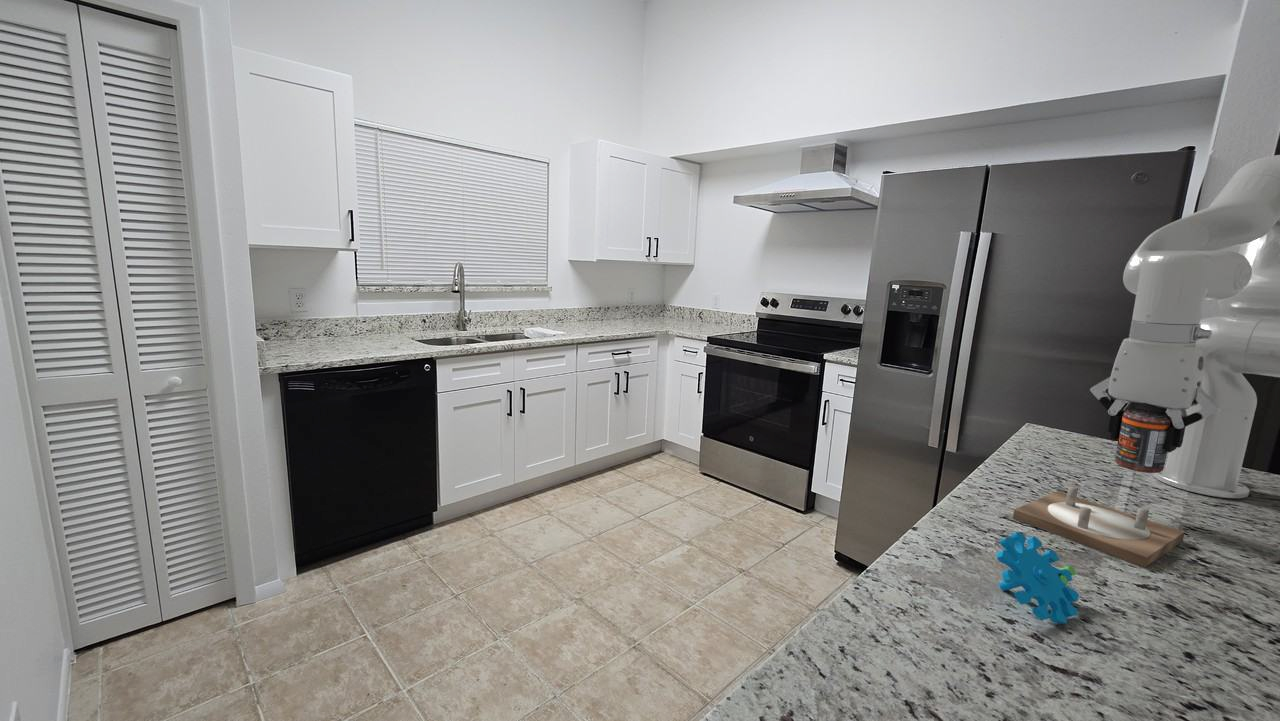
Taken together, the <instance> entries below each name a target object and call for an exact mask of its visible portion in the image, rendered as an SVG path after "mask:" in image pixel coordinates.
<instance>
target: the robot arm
mask: <svg viewBox="0 0 1280 721" xmlns="http://www.w3.org/2000/svg"><path fill="white" fill-rule="evenodd" d="M1234 247H1239V250H1238V252H1235V251H1233V250H1232V251H1230V250H1227V249H1229V248H1234ZM1122 281H1123V285H1124V287H1125V288H1126V290H1127V291H1128V292H1130V293H1131V294H1134V295H1135V300H1134V306H1133V312H1132V317H1131V318H1132V319H1131V323H1130V328H1129V334H1128V337H1127V338H1124V339H1123V340H1122V342H1121V345H1120V346H1119V350H1118V352H1117V355H1116V357H1115V360H1114V363H1113V367H1112V370H1111V374H1110V376H1108V377H1107V378H1106V379H1103V380H1101V381H1100V382H1098V383H1097V384H1095V385H1093V386H1092V387H1090V389H1089V391H1090V392H1091V393H1092V395H1093V396H1094V397H1095V398H1096V399H1097V400H1098V401H1099V403H1100V404H1101V405H1102V406H1103V407H1104V409H1105V410H1107V413H1108V415H1110V418H1109V422H1108V427H1107V428H1108V429H1107V431H1108V433H1109V434H1110V440H1114V441H1116V440H1117V441H1118V438H1119V433H1120V427H1121V421H1122V415H1123V413H1124V412H1125V411H1126V408H1127V407H1128V406H1129V405H1130V403H1132V404H1133V403H1148V404H1151V405H1154V406H1157V407H1161V408H1167V411H1168V414H1169V416H1170V417H1171V419H1172V422H1173V423H1172V425H1171V426H1170V427H1168V429H1167V435H1166V440H1165V445H1164V450H1165V452H1167V456H1166V461H1165V466H1164V469H1163V471H1161V472H1158V473H1152V477H1154V478H1155V479H1156V480H1158V481H1159V482H1161V483H1164V484H1166V485H1168V486H1172V487H1175V488H1178V489H1180V490H1184V491H1188V492H1192V493H1196V494H1200V495H1205V496H1209V497H1216V498H1223V499H1224V498H1225V499H1245V498H1247V497H1248V496H1249V495H1250V489H1249V487H1248V486H1246V485H1244V484H1242V483H1240V482H1239V480H1240V476H1241V472H1242V467H1243V463H1244V459H1245V455H1246V451H1247V447H1248V443H1249V442H1248V441H1249V437H1250V434H1251V429H1252V425H1253V421H1254V417H1255V412H1256V409H1257V404H1258V397H1257V393H1256V391H1255V389H1254V388H1253V386H1252V385H1251V383H1249V381H1248V380H1247V378H1246V377H1245V376H1244V375H1243V374H1248V375H1249V374H1250V375H1251V374H1253V375H1260V376H1267V377H1274V378H1280V154H1276V155H1271V156H1270V155H1269V156H1265V157H1261V158H1257V159H1255V160H1252V161H1250V162H1247V163H1246V164H1244V165H1243V166H1241V167H1240V168H1239V169H1237V171H1236V172H1235V173H1234V174H1233V176H1232V177H1231V178H1230V179H1229V180H1228V182H1227V183H1226V184H1225V186H1224V187H1223V188H1222V190H1221V191H1220V192H1219V193H1218V195H1217V196H1216V197H1215V198H1214V200H1213V201H1212V202H1211V203H1210V205H1209V206H1208V207H1206V208H1203V209H1201V210H1198V211H1196V212H1194V213H1190V214H1189V215H1187V216H1184V217H1181V218H1180V219H1177V220H1174V221H1173V222H1170V223H1168V224H1166V225H1164V226H1162V227H1160V228H1158V229H1156V230H1155V231H1153V232H1152V233H1150V234H1149V235H1148V236H1147V237H1146V238H1145V239H1144V240H1143V241H1142V243H1140V245H1139V246H1138V247H1137V249H1135V250H1134V252H1133V253H1132V255H1131V256H1130V258H1129V260H1128V261H1127V263H1126V265H1125V268H1124V270H1123V275H1122ZM1205 300H1207V301H1209V300H1211V301H1212V300H1213V301H1214V300H1215V301H1217V305H1218V308H1219V309H1220V311H1221V312H1222V313H1224V314H1226V315H1228V316H1212V317H1205V318H1203V319H1201V318H1202V312H1203V307H1204V302H1205ZM1106 390H1107V391H1108V393H1107V392H1106ZM1114 399H1115V400H1114Z"/></svg>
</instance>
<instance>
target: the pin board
mask: <svg viewBox="0 0 1280 721" xmlns="http://www.w3.org/2000/svg"><path fill="white" fill-rule="evenodd" d="M1078 492H1079V488H1077V487H1075V486H1068V488H1067V493H1064V492H1062V491H1056V492H1052V493H1050V494H1047V495H1045V496H1043V497H1040V498H1038V499H1036V500H1033V501H1031V502H1028V503H1026V504H1024V505H1021V506H1019V507H1016V508H1014V509H1013V514H1012V519H1014V520H1017V521H1019V522H1022V523H1025V524H1027V525H1031V526H1033V527H1035V528H1038V529H1041V530H1044V531H1046V532H1048V531H1049V533H1051V532H1052V533H1051V534H1054V535H1056V534H1057V535H1056V536H1059V535H1060V536H1059V537H1061V538H1065V539H1067V540H1069V541H1071V542H1075V543H1078V544H1080V545H1083V546H1085V545H1086V547H1088V548H1091V549H1094V550H1096V551H1098V552H1102V553H1105V554H1107V555H1109V554H1110V556H1112V557H1115V558H1118V559H1120V560H1123V561H1125V562H1128V563H1131V564H1134V565H1136V566H1139V567H1141V568H1144V569H1145V568H1147V567H1148V566H1149V565H1151V564H1152V563H1154V562H1155V561H1156V560H1158V559H1159V558H1161V557H1162V556H1164V555H1165V554H1167V552H1169V551H1171V550H1172V549H1174V548H1176V546H1178V545H1179V544H1181V543H1182V542H1184V538H1185V533H1186V532H1185V531H1184V530H1181V529H1178V528H1176V527H1173V526H1169V525H1167V524H1162V523H1160V522H1156V521H1153V520H1150V519H1148V518H1149V514H1150V510H1149V509H1147V508H1144V507H1138V508H1137V512H1136V515H1135V514H1130V513H1128V512H1125V511H1122V510H1119V509H1115V508H1113V507H1108V506H1106V505H1102V504H1099V503H1097V502H1093V501H1090V500H1087V499H1084V498H1080V497H1078Z"/></svg>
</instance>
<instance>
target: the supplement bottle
mask: <svg viewBox="0 0 1280 721" xmlns="http://www.w3.org/2000/svg"><path fill="white" fill-rule="evenodd" d="M1167 411H1168V409H1167V408H1161V407H1157V406H1154V405H1151V404H1148V403H1133V402H1132V404H1131V408H1130V409H1126V410H1124V413H1123V415H1122V421H1121V427H1120V433H1119V438H1118V439H1117V445H1116V449H1115V450H1116V451H1115V456H1114V462H1115V463H1116V464H1117V465H1118V466H1120V467H1122V468H1124V469H1127V470H1130V471H1134V472H1140V473H1147V474H1153V473H1158V472H1161V471H1163V469H1164V467H1165V466H1166V461H1167V456H1168V452H1165V450H1164V445H1165V440H1166V435H1167V429H1168V427H1170V426H1171V425H1172V423H1173V422H1172V419H1171V416H1170V415H1169V413H1167Z"/></svg>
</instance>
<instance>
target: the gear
mask: <svg viewBox="0 0 1280 721" xmlns="http://www.w3.org/2000/svg"><path fill="white" fill-rule="evenodd" d="M1025 542H1026V543H1027V547H1026V545H1025ZM999 544H1000V546H1001V547H1003V548H1004V549H1003V550H1000V551H998V552H997V553H996V559H997V561H998V562H1000V563H1002V564H1003V565H1006V566H1007V567H1008V568H1009V569H1005V570H1003V571H1001V576H1002V579H1003V581H1001V582H999V583H998V585H999V586H998V587H999V588H1000V589H1001V590H1002V591H1003V592H1005V591H1009V590H1013V589H1016V588H1020V587H1022V588H1023V589H1024V590H1019V591H1015V592H1014V594H1013V595H1014V596H1015V598H1016V599H1015V600H1017V601H1018V603H1019V605H1027V604H1030V603H1031V601H1032V599H1035V600H1036V602H1037V604H1038V606H1035V607H1034V606H1033V607H1032V611H1031V612H1032V614H1033V615H1034V616H1035V617H1036V618H1037V619H1039V620H1040V621H1044V620H1048V619H1050V621H1051V622H1053V623H1054V624H1059V625H1061V624H1066V623H1067V622H1068V621H1067V620H1068V619H1067V618H1070V617H1074V616H1077V615H1078V614H1079V613H1078V611H1077V609H1076V607H1075V606H1073V604H1071V603H1075V602H1078V601H1079V598H1080V596H1079V593H1078V591H1077V590H1075V589H1073V588H1070V587H1069V586H1067V585H1068V584H1069V582H1071V581H1073V577H1072V576H1075V575H1077V571H1076V569H1075V567H1074V566H1072V565H1068V566H1065V567H1062V568H1057V567H1055V566H1053V565H1052V563H1056V562H1058V561H1060V558H1059V556H1058V555H1057V553H1056V552H1055V551H1054V549H1049V550H1047V551H1044V552H1043V553H1042V554H1043V555H1041V554H1040V553H1039V552H1038V550H1037V549H1038V548H1039V549H1040V548H1041V547H1042V546H1043V542H1042V541H1041V540H1040V539H1039V538H1037V537H1036V536H1034V535H1033V536H1031V537H1028V538H1027V537H1026V535H1025V534H1024V533H1022V532H1019V531H1016V532H1013V533H1010V536H1006V537H1005V538H1002V539H1000V540H999ZM1049 606H1050V610H1051V612H1049Z"/></svg>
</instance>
